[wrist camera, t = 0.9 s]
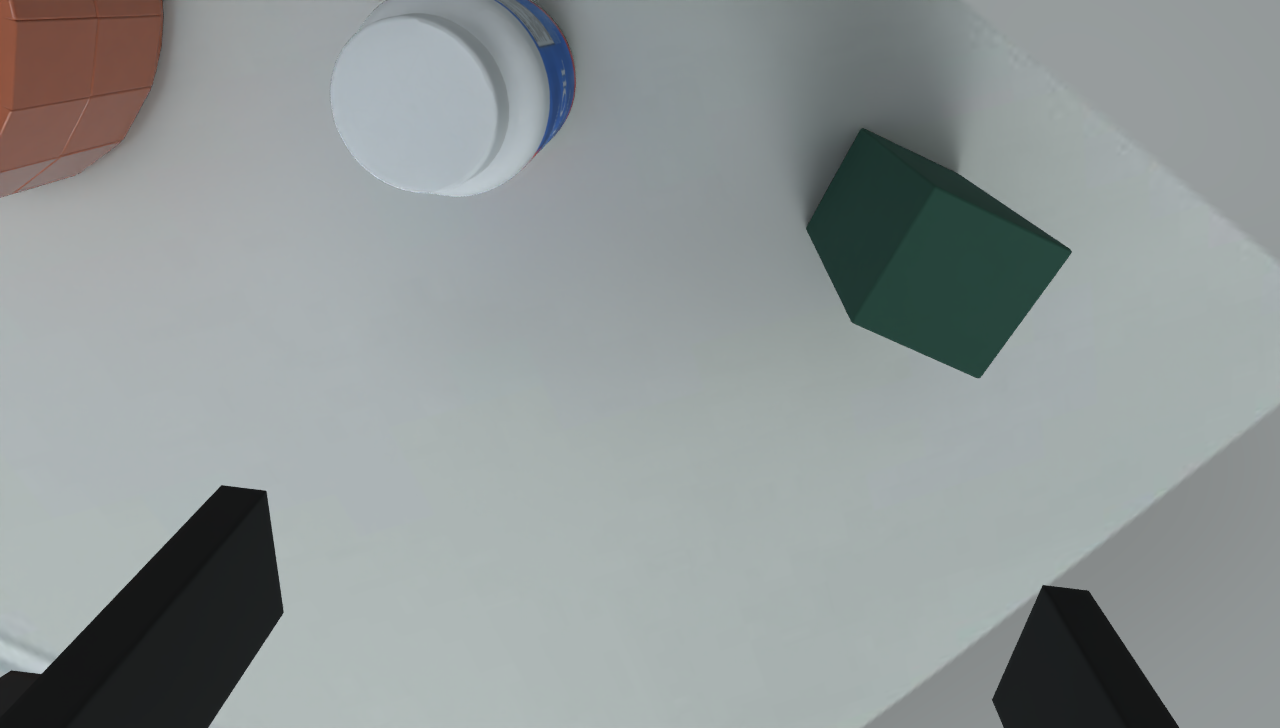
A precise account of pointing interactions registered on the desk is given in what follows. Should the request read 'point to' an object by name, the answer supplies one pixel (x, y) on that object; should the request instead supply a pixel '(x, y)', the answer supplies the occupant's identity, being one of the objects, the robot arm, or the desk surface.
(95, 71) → the bowl
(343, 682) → the desk surface
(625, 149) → the desk surface
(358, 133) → the pill bottle
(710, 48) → the desk surface
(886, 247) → the green block
